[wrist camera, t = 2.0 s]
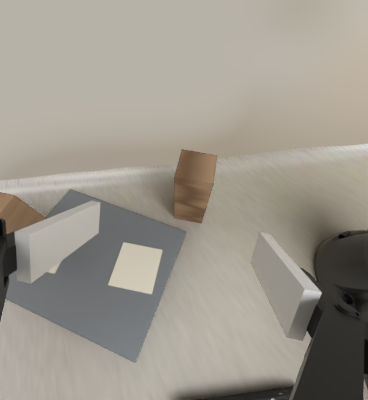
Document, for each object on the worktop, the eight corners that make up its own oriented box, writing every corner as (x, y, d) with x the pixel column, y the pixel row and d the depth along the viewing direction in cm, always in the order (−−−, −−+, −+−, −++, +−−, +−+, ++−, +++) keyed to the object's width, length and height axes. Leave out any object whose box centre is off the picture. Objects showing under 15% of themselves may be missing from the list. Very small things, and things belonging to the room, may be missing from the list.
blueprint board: (185, 234, 32) (186, 231, 31) (136, 361, 23) (134, 363, 22) (72, 192, 36) (69, 188, 35) (-9, 289, 27) (-17, 288, 26)
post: (204, 200, 36) (217, 155, 26) (201, 223, 34) (213, 183, 23) (179, 195, 37) (181, 149, 26) (174, 218, 34) (174, 176, 24)
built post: (68, 235, 30) (14, 195, 20) (51, 267, 27) (-21, 240, 17) (39, 229, 30) (-29, 186, 20) (19, 260, 28) (-71, 229, 17)
